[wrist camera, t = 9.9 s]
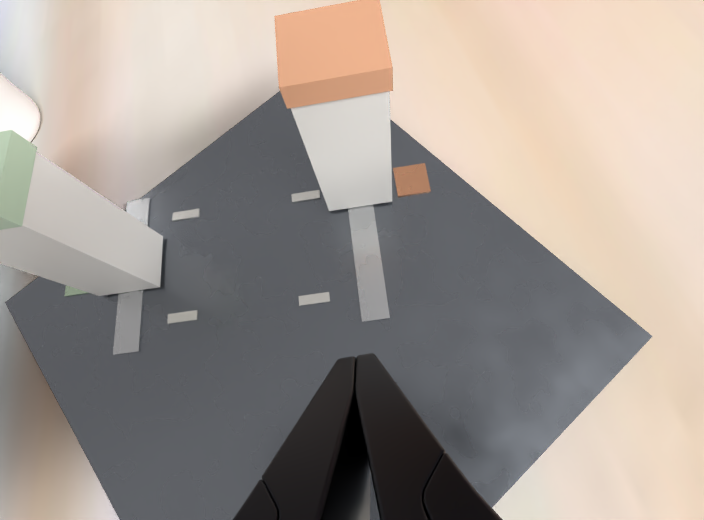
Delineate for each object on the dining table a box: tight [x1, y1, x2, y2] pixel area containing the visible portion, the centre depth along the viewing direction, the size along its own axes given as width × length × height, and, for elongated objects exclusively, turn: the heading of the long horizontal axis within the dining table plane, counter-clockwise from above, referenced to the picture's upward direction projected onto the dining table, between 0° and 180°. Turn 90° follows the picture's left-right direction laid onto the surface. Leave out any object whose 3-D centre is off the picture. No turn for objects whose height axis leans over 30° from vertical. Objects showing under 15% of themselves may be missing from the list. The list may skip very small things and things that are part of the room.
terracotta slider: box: [275, 0, 393, 211], centre depth 17 cm, size 3×4×9 cm
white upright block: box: [0, 130, 163, 296], centre depth 17 cm, size 3×4×9 cm
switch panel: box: [5, 91, 652, 520], centre depth 20 cm, size 24×24×1 cm
